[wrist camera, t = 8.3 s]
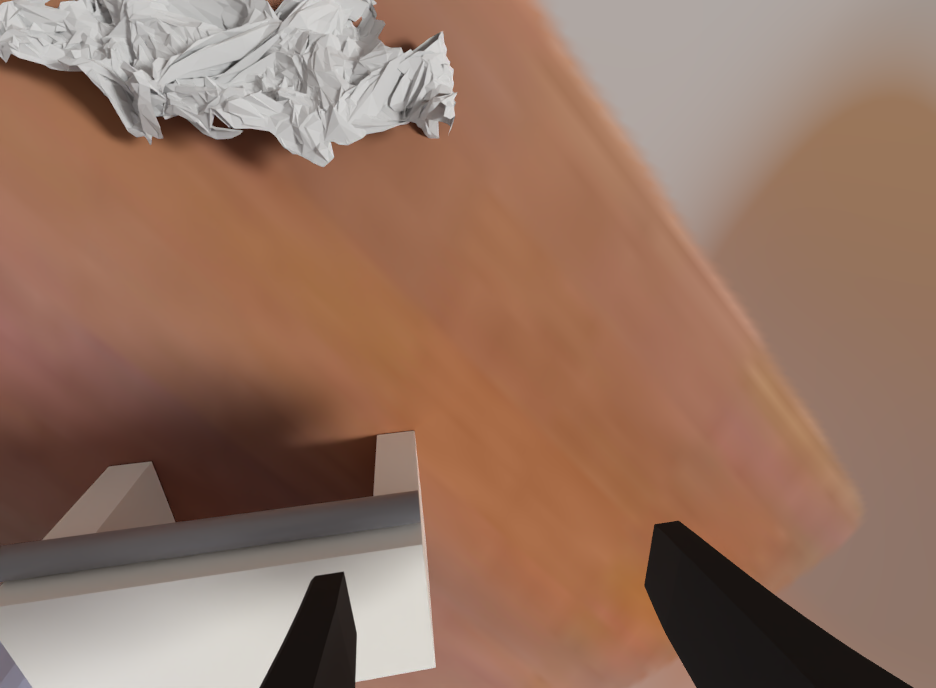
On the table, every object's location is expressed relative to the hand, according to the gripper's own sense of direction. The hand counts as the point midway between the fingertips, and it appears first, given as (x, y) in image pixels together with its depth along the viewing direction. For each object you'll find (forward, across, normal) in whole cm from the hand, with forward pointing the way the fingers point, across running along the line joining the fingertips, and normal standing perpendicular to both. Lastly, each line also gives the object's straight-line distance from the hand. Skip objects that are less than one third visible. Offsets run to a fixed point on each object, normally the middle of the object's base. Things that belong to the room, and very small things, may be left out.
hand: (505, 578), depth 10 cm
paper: (+10, +7, -12) cm, 17 cm away
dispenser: (+9, +8, +5) cm, 13 cm away
